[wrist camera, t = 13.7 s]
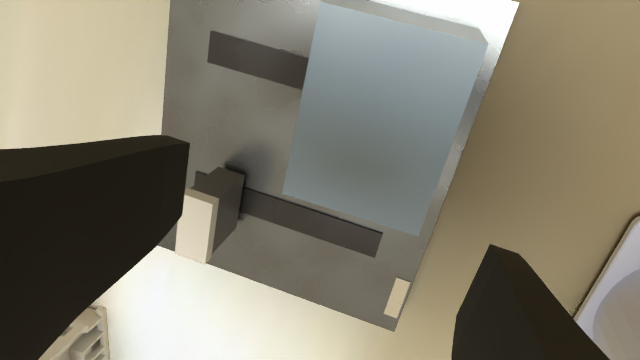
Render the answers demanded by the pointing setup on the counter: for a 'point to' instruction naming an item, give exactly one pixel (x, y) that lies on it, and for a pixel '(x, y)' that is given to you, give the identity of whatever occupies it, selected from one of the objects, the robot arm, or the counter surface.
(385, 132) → the cap
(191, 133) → the panel
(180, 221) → the plain lever
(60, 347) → the circuit breaker
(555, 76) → the counter surface
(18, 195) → the robot arm
